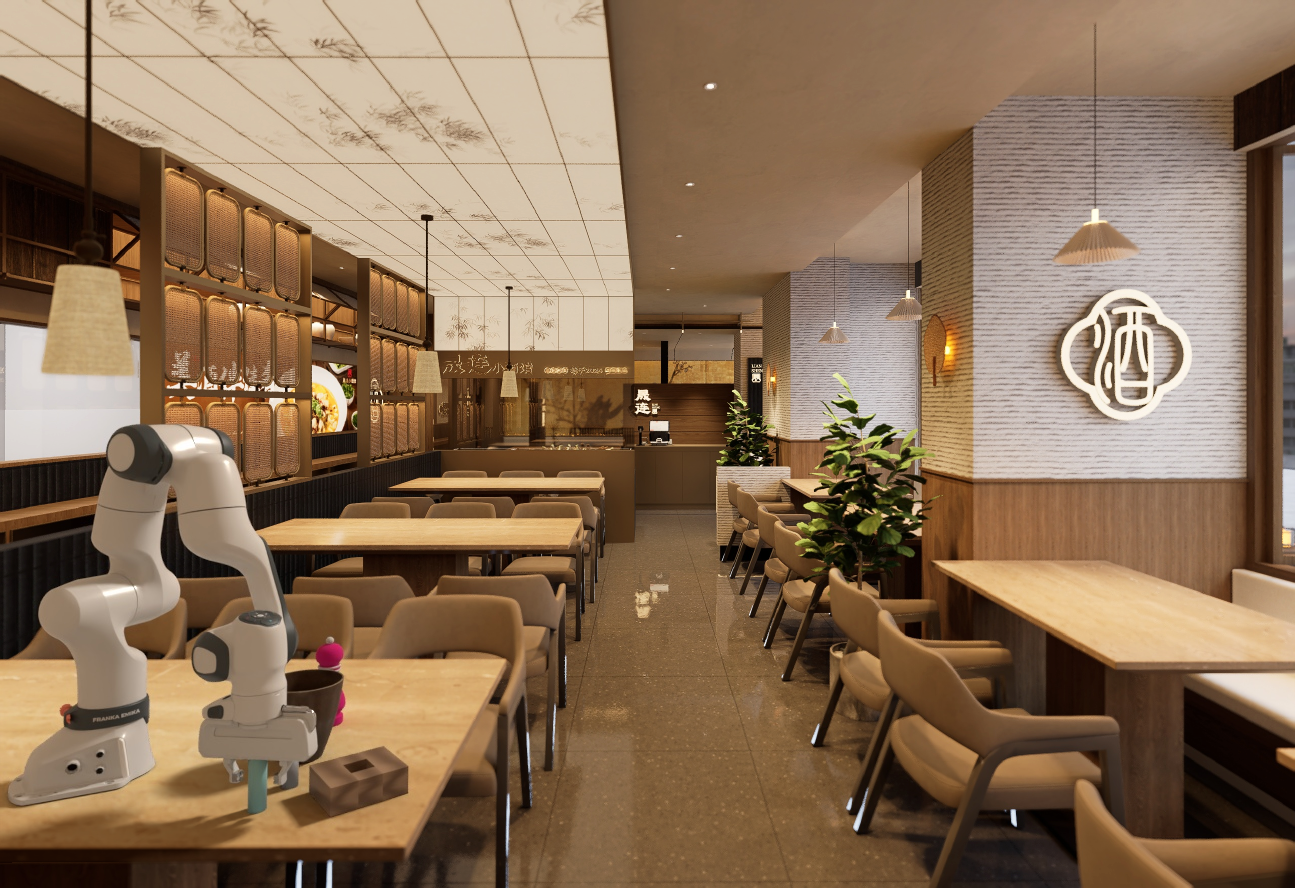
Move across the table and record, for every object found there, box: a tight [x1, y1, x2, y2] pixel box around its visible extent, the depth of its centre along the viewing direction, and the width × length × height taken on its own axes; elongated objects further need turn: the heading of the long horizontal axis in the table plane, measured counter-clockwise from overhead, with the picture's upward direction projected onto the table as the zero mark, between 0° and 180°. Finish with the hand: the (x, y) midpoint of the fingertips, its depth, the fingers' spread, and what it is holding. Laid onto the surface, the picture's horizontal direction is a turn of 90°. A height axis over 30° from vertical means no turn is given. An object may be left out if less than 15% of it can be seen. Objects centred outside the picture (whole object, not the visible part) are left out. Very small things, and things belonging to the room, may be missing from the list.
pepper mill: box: [315, 636, 346, 727], centre depth 171 cm, size 7×7×20 cm
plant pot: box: [285, 668, 345, 765], centre depth 152 cm, size 15×15×16 cm
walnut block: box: [308, 745, 409, 818], centre depth 137 cm, size 14×12×5 cm
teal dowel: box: [247, 759, 268, 815], centre depth 130 cm, size 3×3×10 cm
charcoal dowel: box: [280, 761, 300, 791], centre depth 139 cm, size 3×3×5 cm
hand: (258, 782), depth 130 cm, fingers open, 7 cm apart
